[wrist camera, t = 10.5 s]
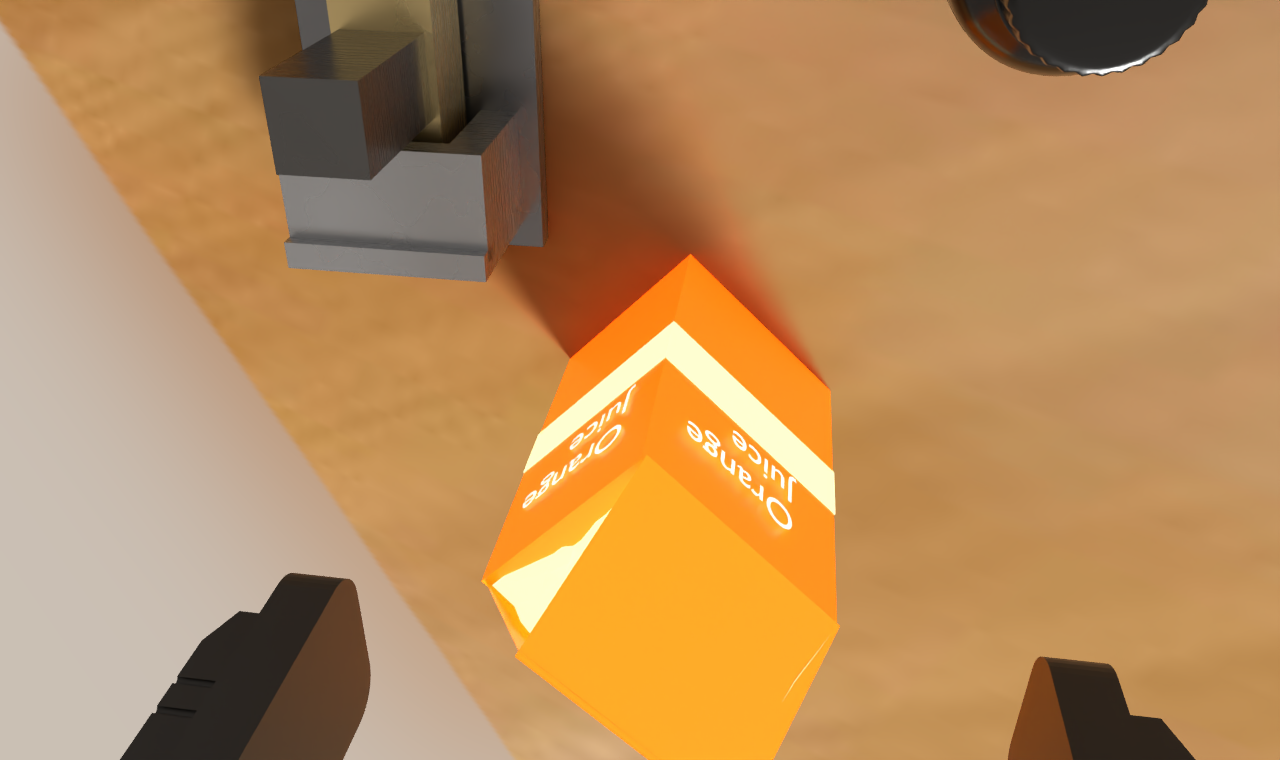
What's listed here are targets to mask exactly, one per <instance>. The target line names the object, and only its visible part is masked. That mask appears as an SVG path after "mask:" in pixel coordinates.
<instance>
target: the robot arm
mask: <svg viewBox="0 0 1280 760" xmlns="http://www.w3.org/2000/svg"><path fill="white" fill-rule="evenodd" d="M370 676H371V675H370V663H369V658H368V651H367V646H366V640H365V635H364V629H363V623H362V617H361V612H360V606H359V600H358V595H357V590H356V587H355V584H354V583H353V581H352V580H350V579H343V578H334V577H325V576H316V575H306V574H297V573H290V574H288V575H286V576H285V577H284V578H283V579H282V580H281V581H280V582H279V584H278V585H277V587H276V588H275V590H274V591H273V593H272V595H271V596H270V598H269V599H268V601H267V603H266V604H265V605H264V607H263V609H262V610H261V612H260V613H251V612H241V611H239V612H238V613H237V614H235V615H234V616H233V617H232V618H230V619H229V620H228V621H226V622H225V623H224V624H223V625H221V626H220V627H219V628H217V629H216V630H215V631H214V632H212V633H211V634H210V635H208V636H207V637H206V638H205V639H203V640H202V641H201V643H200V644H199V645H198V647H197V648H196V650H195V651H194V653H193V654H192V656H191V657H190V659H189V660H188V662H187V663H186V664H185V666H184V667H183V669H182V670H181V672H180V673H179V675H178V676H177V677H178V679H177V682H176V684H174V683H172V685H171V686H170V688H169V689H168V691H167V692H166V694H165V695H164V696H163V698H162V699H161V701H160V702H159V704H158V705H157V711H156V713H152V714H151V715H150V717H149V718H148V720H147V721H146V723H145V724H144V726H143V727H142V729H141V730H140V731H139V733H138V734H137V736H136V737H135V739H134V740H133V742H132V743H131V744H130V746H129V747H128V749H127V750H126V752H125V753H124V755H123V756H122V758H121V759H120V760H343V758H344V756H345V754H346V752H347V750H348V748H349V745H350V743H351V741H352V739H353V737H354V735H355V733H356V730H357V728H358V726H359V724H360V722H361V719H362V717H363V714H364V711H365V708H366V704H367V700H368V695H369V689H370ZM1008 760H1195V759H1194V757H1193V756H1192V755H1191V754H1190V753H1189V751H1188V750H1187V749H1186V748H1185V747H1184V745H1183V744H1182V743H1181V742H1180V741H1179V740H1178V738H1177V737H1176V736H1175V735H1174V734H1173V732H1172V731H1171V730H1170V729H1169V728H1168V726H1167V725H1166V724H1165V723H1164V722H1163V720H1162V719H1159V718H1151V717H1142V716H1133V715H1130V713H1129V710H1128V707H1127V704H1126V701H1125V698H1124V695H1123V692H1122V689H1121V686H1120V683H1119V680H1118V677H1117V674H1116V672H1115V670H1114V669H1113V668H1112V666H1111V665H1109V664H1104V663H1095V662H1085V661H1076V660H1067V659H1058V658H1049V657H1039V658H1038V659H1037V660H1036V661H1035V663H1034V666H1033V669H1032V672H1031V675H1030V679H1029V682H1028V686H1027V689H1026V692H1025V696H1024V699H1023V703H1022V706H1021V710H1020V713H1019V716H1018V720H1017V723H1016V727H1015V730H1014V734H1013V737H1012V741H1011V744H1010V749H1009V755H1008Z"/></svg>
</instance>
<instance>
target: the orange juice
mask: <svg viewBox="0 0 1280 760" xmlns="http://www.w3.org/2000/svg"><path fill="white" fill-rule="evenodd" d="M834 514H835V486H834V472H833V468H832V432H831V396H830V390H829V389H828V388H827V387H826V386H825V385H824V384H823V383H822V382H821V381H820V380H819V379H818V378H817V377H816V376H815V375H814V374H813V373H812V372H811V371H810V370H809V369H808V368H807V367H806V366H805V365H804V364H802V363H801V362H800V361H799V360H798V359H797V358H796V357H795V356H794V355H793V354H792V353H791V352H790V351H789V350H788V349H787V348H786V347H785V346H784V345H783V344H782V343H781V342H780V341H779V340H778V339H777V338H776V337H775V336H774V335H773V334H772V333H771V332H770V331H769V330H768V329H767V328H766V327H765V326H764V325H763V324H762V323H761V322H759V321H758V320H757V319H756V318H755V317H754V316H753V315H752V314H751V313H750V312H749V311H748V310H747V309H746V308H745V307H744V306H743V305H742V304H741V303H740V302H739V301H738V300H737V299H736V298H735V297H734V296H733V295H732V294H731V293H730V292H729V291H728V290H727V289H726V288H725V287H724V286H723V285H722V284H721V283H720V282H719V281H718V280H717V279H715V278H714V277H713V276H712V275H711V274H710V273H709V272H708V271H707V270H706V269H705V268H704V267H703V266H702V265H701V264H700V263H699V262H698V261H697V260H696V259H695V258H694V257H693V256H692V255H691V254H690V255H689V256H688V257H687V258H685V259H684V260H683V261H682V262H681V263H680V264H679V265H677V266H676V267H675V268H674V269H673V270H672V271H670V272H669V273H668V274H667V275H666V276H665V277H664V278H662V279H661V280H660V281H659V282H658V283H657V284H656V285H654V286H653V287H652V288H651V289H650V290H649V291H647V292H646V293H645V294H644V295H643V296H642V297H641V298H639V299H638V300H637V301H636V302H635V303H634V304H632V305H631V306H630V307H629V308H628V309H627V310H626V311H624V312H623V313H622V314H621V315H620V316H619V317H618V318H616V319H615V320H614V321H613V322H612V323H611V324H609V325H608V326H607V327H606V328H605V329H604V330H603V331H601V332H600V333H599V334H598V335H597V336H596V337H595V338H593V339H592V340H591V341H590V342H589V343H588V344H586V345H585V346H584V347H583V348H582V349H581V350H580V351H578V352H577V353H576V354H575V355H574V356H573V357H572V358H570V360H569V363H568V365H567V368H566V370H565V373H564V375H563V378H562V380H561V383H560V385H559V388H558V390H557V393H556V395H555V398H554V400H553V403H552V405H551V408H550V411H549V413H548V416H547V418H546V421H545V423H544V426H543V428H542V431H541V432H540V433H539V434H538V437H537V439H536V442H535V444H534V447H533V449H532V452H531V454H530V457H529V459H528V462H527V464H526V467H525V469H524V476H523V478H522V481H521V483H520V486H519V488H518V491H517V493H516V496H515V498H514V501H513V503H512V506H511V508H510V511H509V513H508V516H507V518H506V521H505V523H504V526H503V528H502V531H501V533H500V536H499V538H498V541H497V543H496V546H495V548H494V551H493V553H492V556H491V558H490V561H489V563H488V566H487V568H486V571H485V573H484V576H483V579H482V582H483V583H484V584H485V585H487V586H488V587H489V589H490V592H491V594H492V596H493V598H494V600H495V602H496V604H497V606H498V608H499V611H500V613H501V615H502V617H503V619H504V621H505V623H506V625H507V627H508V630H509V632H510V634H511V636H512V638H513V640H514V642H515V644H516V646H517V649H518V652H517V654H516V656H515V657H516V658H517V659H519V660H520V661H521V662H523V663H524V664H525V665H526V666H528V667H529V668H530V669H532V670H533V671H534V672H535V673H537V674H538V675H539V676H541V677H542V678H543V679H545V680H546V681H547V682H548V683H550V684H551V685H552V686H554V687H555V688H556V689H557V690H559V691H560V692H561V693H563V694H564V695H565V696H567V697H568V698H569V699H570V700H572V701H573V702H574V703H576V704H577V705H578V706H579V707H581V708H582V709H583V710H585V711H586V712H587V713H589V714H590V715H591V716H592V717H594V718H595V719H596V720H598V721H599V722H600V723H601V724H603V725H604V726H605V727H607V728H608V729H609V730H611V731H612V732H613V733H614V734H616V735H617V736H618V737H620V738H621V739H622V740H623V741H625V742H626V743H627V744H629V745H630V746H631V747H633V748H634V749H635V750H636V751H638V752H639V753H640V754H642V755H643V756H644V757H645V758H647V759H648V760H773V758H774V756H775V754H776V752H777V750H778V748H779V747H780V745H781V743H782V741H783V739H784V737H785V735H786V733H787V731H788V729H789V727H790V725H791V723H792V721H793V719H794V717H795V715H796V713H797V711H798V709H799V707H800V705H801V703H802V701H803V699H804V697H805V695H806V693H807V691H808V689H809V687H810V685H811V683H812V681H813V679H814V677H815V675H816V673H817V671H818V669H819V667H820V665H821V663H822V661H823V659H824V657H825V655H826V653H827V651H828V649H829V647H830V645H831V643H832V641H833V639H834V637H835V635H836V633H837V631H838V629H839V627H840V625H838V624H837V611H836V575H835V540H834Z"/></svg>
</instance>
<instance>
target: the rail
mask: <svg viewBox="0 0 1280 760" xmlns="http://www.w3.org/2000/svg"><path fill="white" fill-rule="evenodd" d="M295 5H296V11H297V18H298V24H299V30H300V37H301V43H302V50H304V49H306V48H307V47H309V46H311V45H312V44H314V43H316V42H318V41H319V40H321V39H323V38H324V37H326V36H328V35H330V34H331V31H330V24H329V17H328V10H327V3H326V0H295ZM457 5H458V17H459V30H460V43H461V56H462V69H463V81H464V94H465V107H466V120H467V126H466V127H465V128H464V129H463V130H462V131H461V132H460V133H459V134H458V135H457V136H456V138H455V139H454V140H453V141H452V142H451V143H450V144H445V143H427V142H410V143H409V144H408V145H407V146H406V147H405V148H404V149H402V150H401V151H400V152H399V153H398V154H397V155H396V156H395V157H394V158H393V159H392V160H391V161H390V162H389V163H388V164H387V165H386V166H385V167H384V168H383V169H382V170H381V171H380V172H379V173H378V174H377V175H376V176H375V177H374V178H373V179H372V180H356V179H339V178H323V177H307V176H291V175H279V178H280V183H281V189H282V195H283V200H284V206H285V211H286V217H287V223H288V228H289V234H290V237H289V238H288V239H287V240H286V241H285V242H284V245H285V250H286V256H287V261H288V267H289V268H299V269H312V270H326V271H340V272H353V273H367V274H381V275H395V276H408V277H422V278H436V279H449V280H463V281H477V282H486V281H487V280H488V278H489V276H490V275H491V273H492V272H493V270H494V268H495V267H496V265H497V263H498V262H499V260H500V259H501V257H502V255H503V254H504V252H505V251H506V249H507V247H508V246H509V245H520V246H535V247H543V246H544V244H545V243H546V241H547V239H548V215H547V190H546V164H545V138H544V112H543V87H542V61H541V35H540V9H539V0H457Z"/></svg>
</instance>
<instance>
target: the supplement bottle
mask: <svg viewBox="0 0 1280 760" xmlns="http://www.w3.org/2000/svg"><path fill="white" fill-rule="evenodd" d="M947 1H948V3H949V5H950V7H951V9H952V11H953V13H954V15H955V17H956V19H957V20H958V22H959V24H960V25H961V27H962V28H963V30H964V31H965V32H966V33H967V35H968V36H969V37H970V38H971V40H972V41H973V42H974V43H975V44H976V45H977V46H978V47H979V48H980V49H981V50H983V51H984V52H985V53H986V54H988V55H989V56H990V57H992V58H993V59H995V60H997V61H998V62H1000V63H1002V64H1004V65H1006V66H1008V67H1011V68H1013V69H1016V70H1019V71H1022V72H1026V73H1030V74H1036V75H1043V76H1071V75H1078V74H1079V75H1081V76H1086V75H1089V74H1096V75H1099V76H1104V75H1107V74H1109V73H1111V72H1124V71H1126V70H1127V69H1129V68H1130V67H1132V66H1140V65H1143V64H1144V63H1146V62H1147V61H1148V60H1149V59H1150V58H1151V57H1155V56H1158V55H1161V54H1162V53H1163V52H1164V51H1165V50H1166V48H1167V47H1168V46H1169V45H1171V44H1174V43H1175V42H1177V41H1179V40H1180V38H1181V37H1182V35H1183V33H1184V31H1185V30H1187V29H1188V28H1190V27H1191V26H1192V25H1194V23H1195V21H1196V18H1197V15H1198V13H1199V12H1200V11H1201V10H1203V8H1204V7H1205V6H1206V5H1207V1H1208V0H947Z"/></svg>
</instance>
